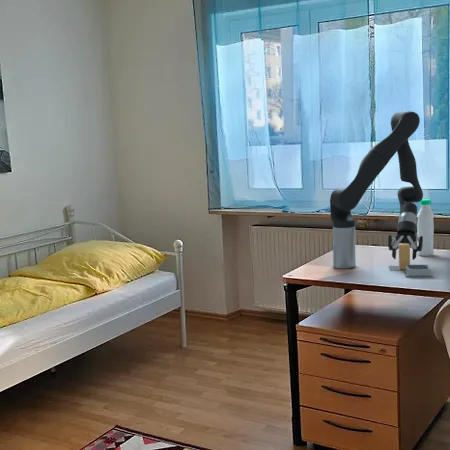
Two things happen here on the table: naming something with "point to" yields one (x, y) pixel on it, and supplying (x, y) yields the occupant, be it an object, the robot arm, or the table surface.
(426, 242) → the water bottle
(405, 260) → the block
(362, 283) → the table surface
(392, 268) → the jamb plate
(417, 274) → the tray
